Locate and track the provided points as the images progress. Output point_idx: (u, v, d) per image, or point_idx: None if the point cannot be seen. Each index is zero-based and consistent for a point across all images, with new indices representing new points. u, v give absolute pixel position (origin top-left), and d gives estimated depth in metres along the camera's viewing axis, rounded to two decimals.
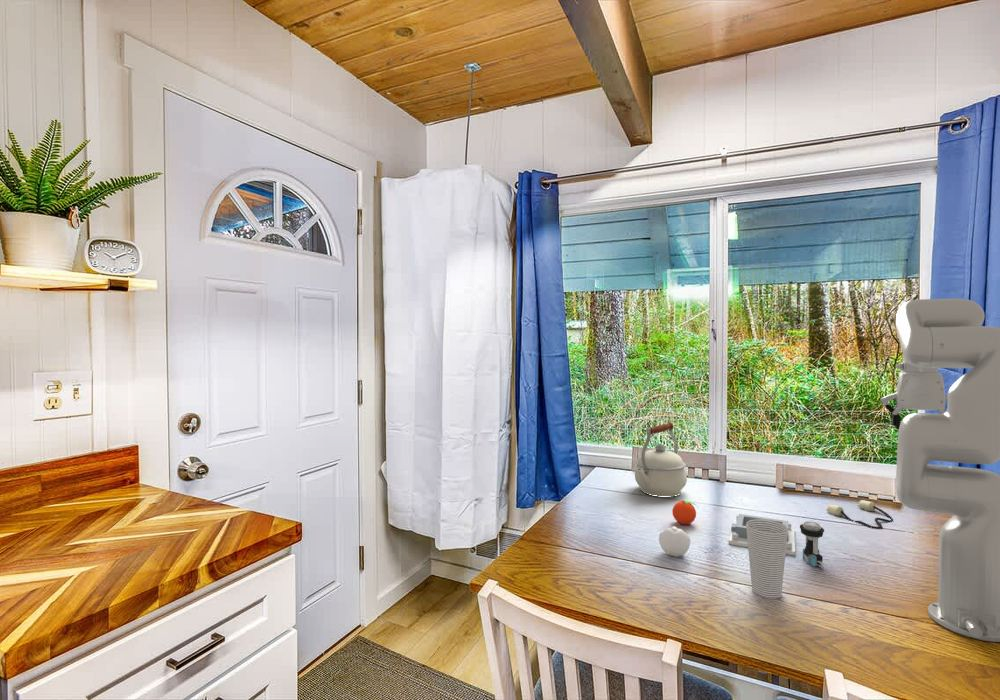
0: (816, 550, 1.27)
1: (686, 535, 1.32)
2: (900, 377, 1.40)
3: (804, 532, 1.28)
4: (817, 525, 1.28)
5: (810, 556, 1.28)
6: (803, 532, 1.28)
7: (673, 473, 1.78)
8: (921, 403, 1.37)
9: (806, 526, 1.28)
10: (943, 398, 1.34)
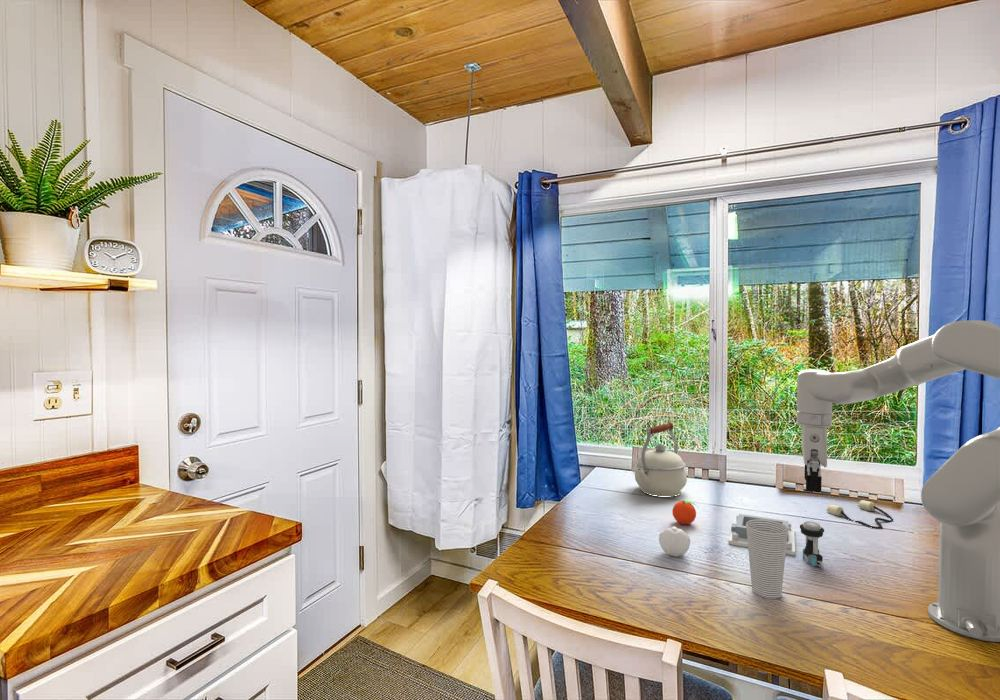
0: (816, 550, 1.27)
1: (686, 535, 1.32)
2: (822, 433, 1.22)
3: (804, 532, 1.28)
4: (817, 525, 1.28)
5: (810, 556, 1.28)
6: (803, 532, 1.28)
7: (673, 473, 1.78)
8: None
9: (806, 526, 1.28)
10: None
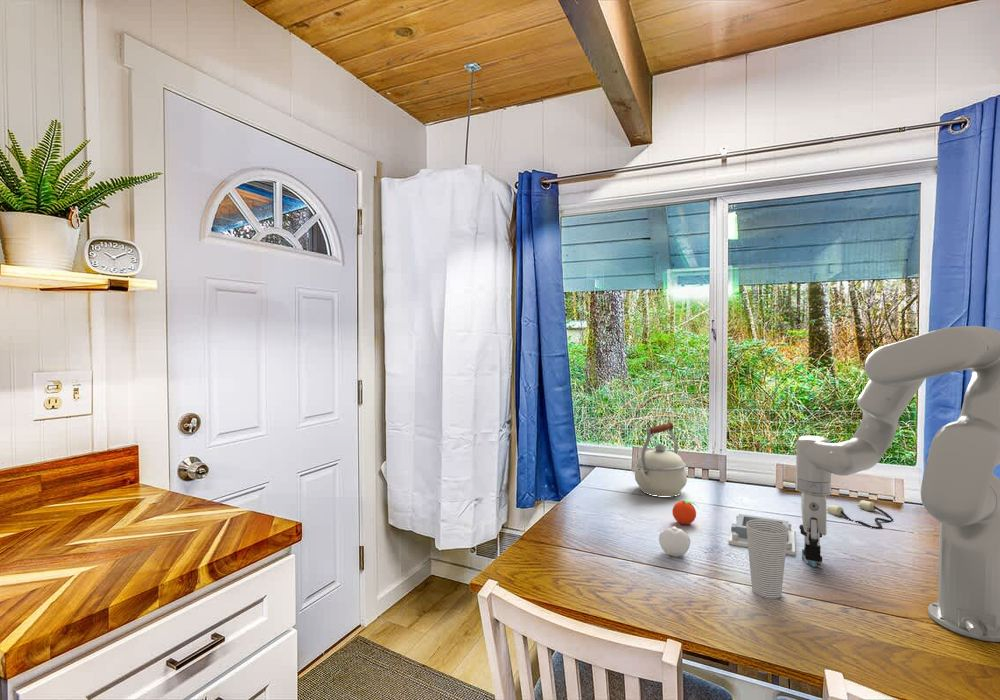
0: None
1: (686, 535, 1.32)
2: (821, 501, 1.23)
3: (804, 533, 1.28)
4: None
5: None
6: (803, 533, 1.28)
7: (673, 473, 1.78)
8: None
9: None
10: None
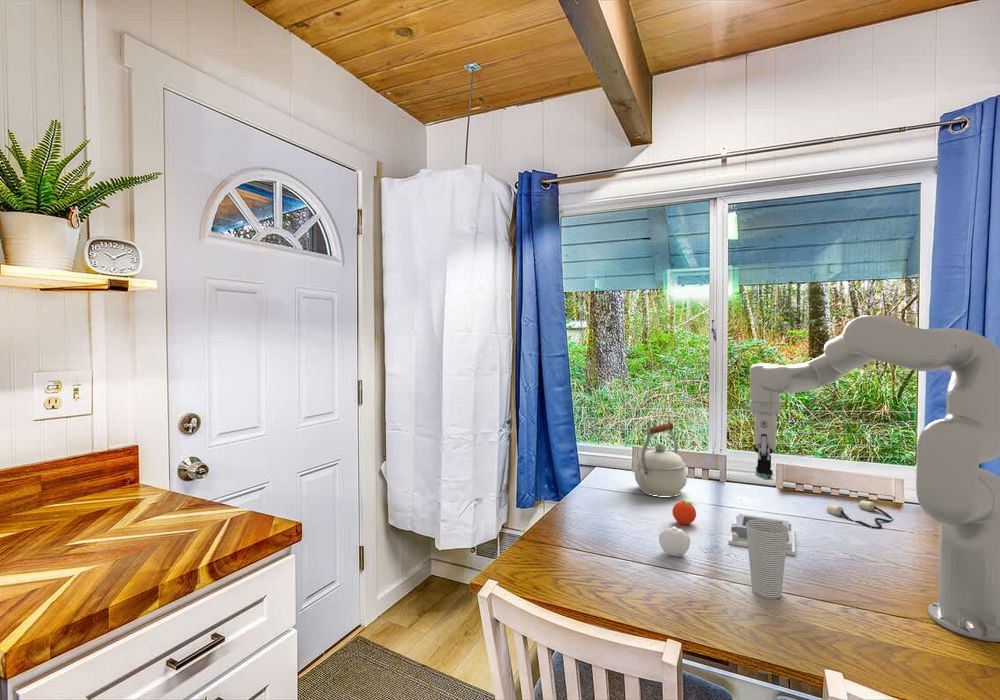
0: None
1: (686, 535, 1.32)
2: (770, 419, 1.38)
3: (756, 450, 1.42)
4: None
5: None
6: (756, 450, 1.42)
7: (673, 473, 1.78)
8: None
9: (758, 444, 1.42)
10: None
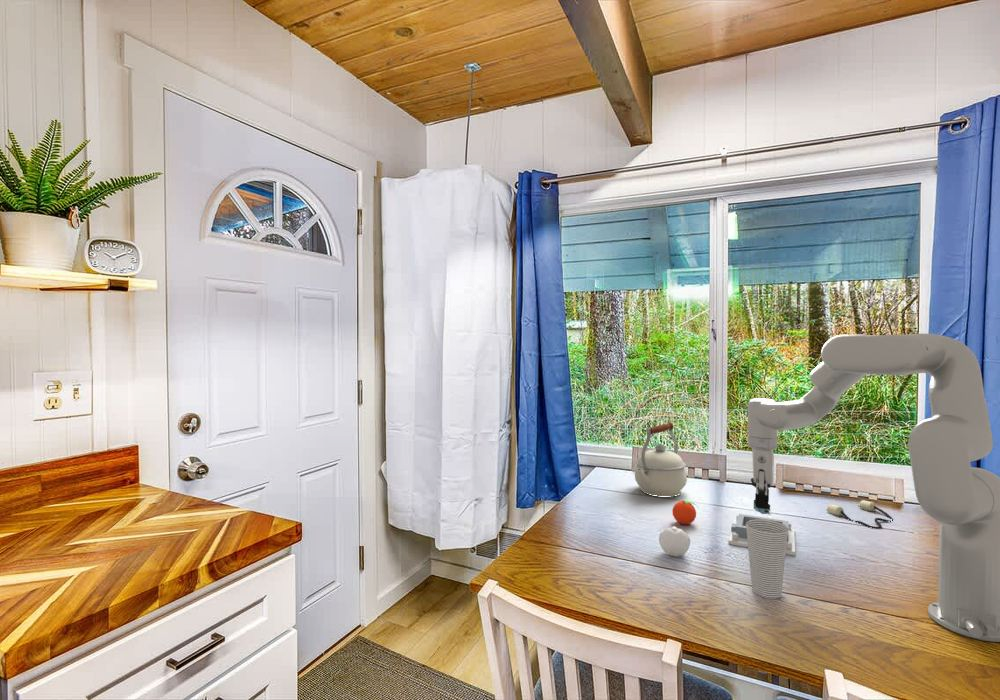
0: None
1: (686, 535, 1.32)
2: (768, 455, 1.39)
3: (754, 484, 1.43)
4: None
5: None
6: (753, 484, 1.44)
7: (673, 473, 1.78)
8: (773, 475, 1.42)
9: None
10: None
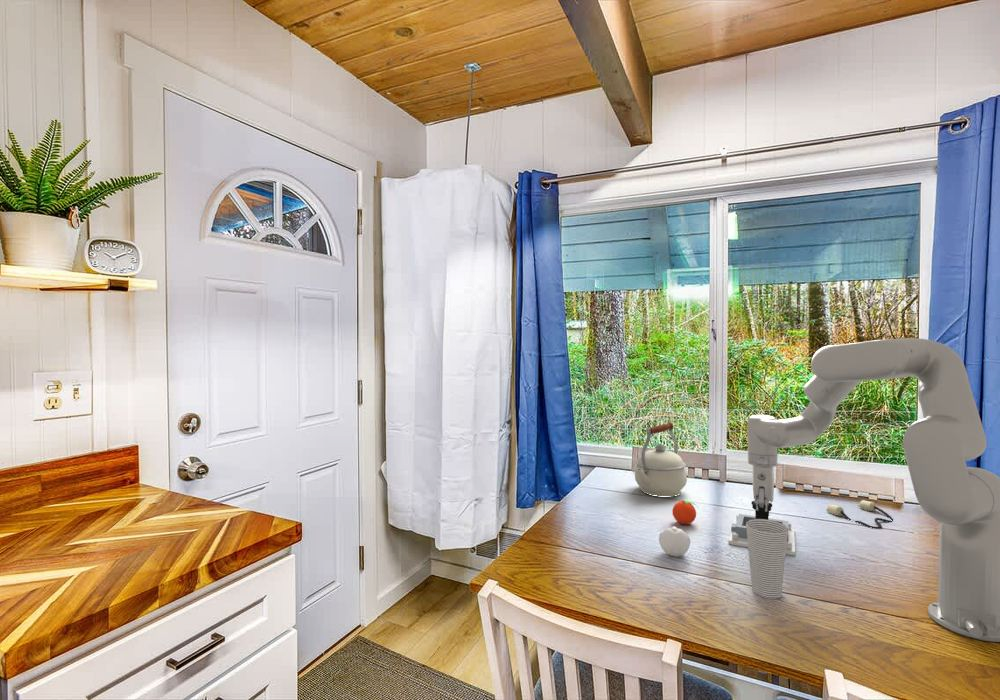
0: None
1: (686, 535, 1.32)
2: (768, 472, 1.39)
3: (755, 507, 1.43)
4: None
5: None
6: (754, 507, 1.43)
7: (673, 473, 1.78)
8: None
9: None
10: None
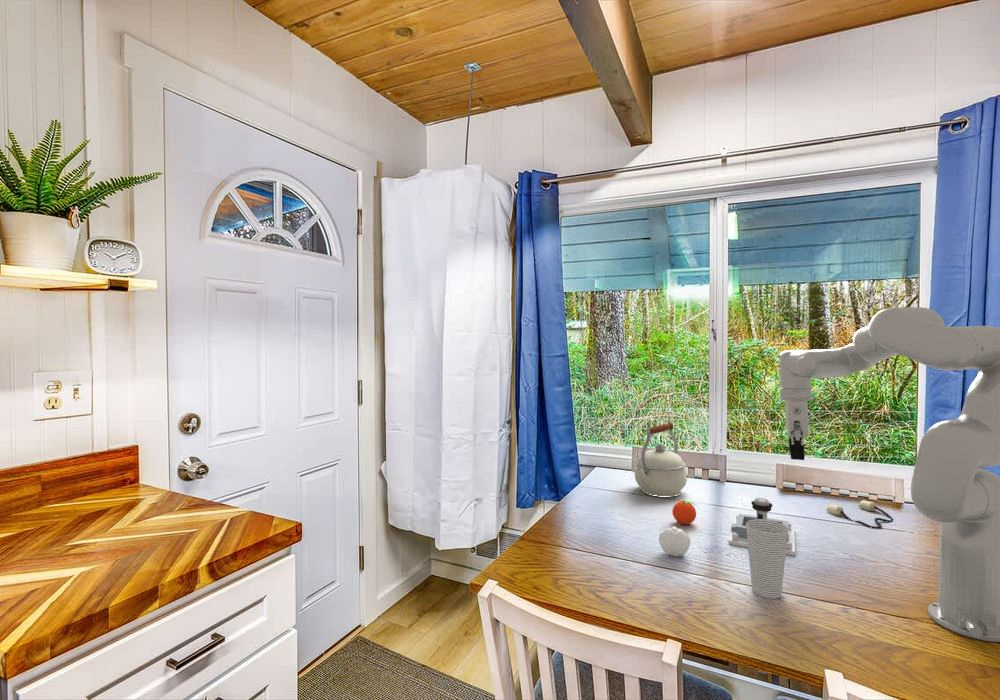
0: None
1: (686, 535, 1.32)
2: (803, 405, 1.35)
3: (755, 507, 1.43)
4: (766, 501, 1.43)
5: None
6: (754, 507, 1.43)
7: (673, 473, 1.78)
8: None
9: (757, 502, 1.43)
10: None
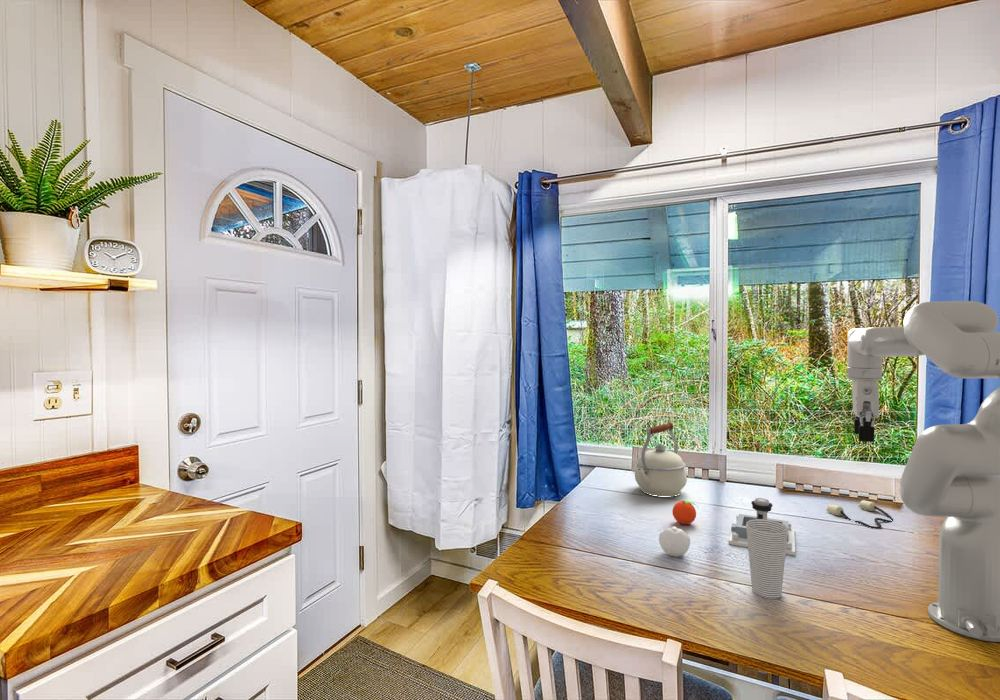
0: None
1: (686, 535, 1.32)
2: (874, 385, 1.30)
3: (755, 507, 1.43)
4: (766, 501, 1.43)
5: None
6: (754, 507, 1.43)
7: (673, 473, 1.78)
8: None
9: (757, 502, 1.43)
10: None
